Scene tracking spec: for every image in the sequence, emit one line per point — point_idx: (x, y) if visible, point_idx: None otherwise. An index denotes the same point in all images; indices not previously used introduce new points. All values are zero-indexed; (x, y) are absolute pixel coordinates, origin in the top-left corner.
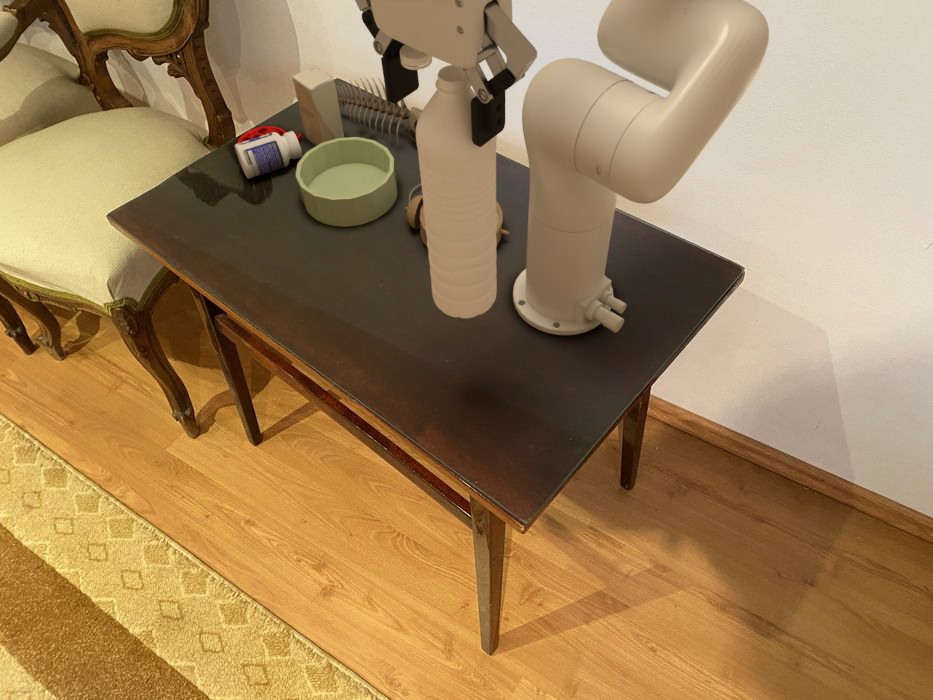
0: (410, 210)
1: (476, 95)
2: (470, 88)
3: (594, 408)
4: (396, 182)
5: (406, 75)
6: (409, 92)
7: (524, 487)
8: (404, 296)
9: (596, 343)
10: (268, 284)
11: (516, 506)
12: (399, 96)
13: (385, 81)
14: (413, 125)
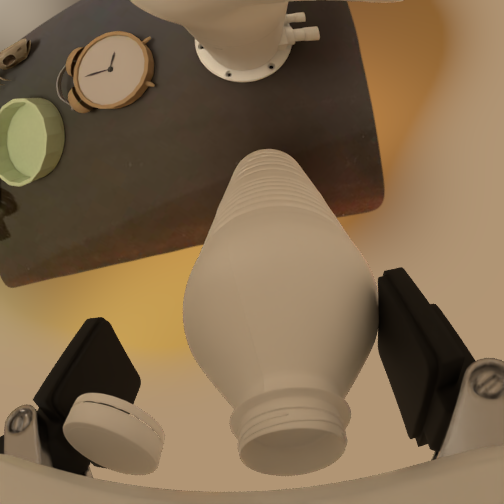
0: (78, 109)
1: (325, 337)
2: (319, 371)
3: (354, 101)
4: (42, 100)
5: (103, 382)
6: (119, 347)
7: (369, 191)
8: (152, 153)
9: (305, 51)
10: (87, 239)
11: (375, 205)
12: (131, 375)
13: None
14: (5, 65)
